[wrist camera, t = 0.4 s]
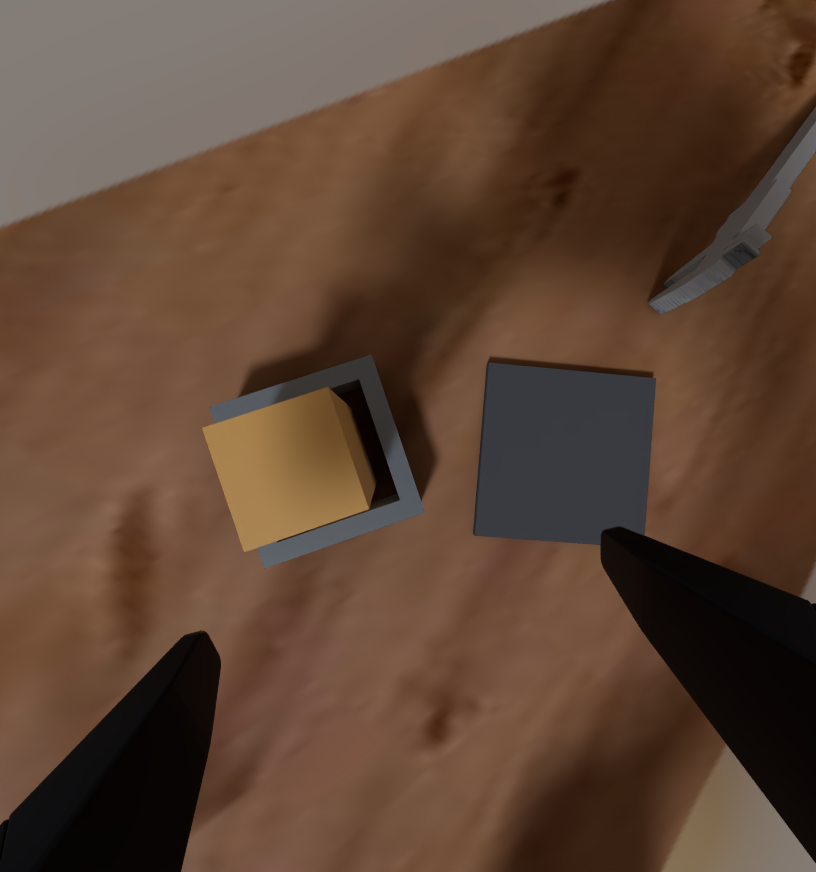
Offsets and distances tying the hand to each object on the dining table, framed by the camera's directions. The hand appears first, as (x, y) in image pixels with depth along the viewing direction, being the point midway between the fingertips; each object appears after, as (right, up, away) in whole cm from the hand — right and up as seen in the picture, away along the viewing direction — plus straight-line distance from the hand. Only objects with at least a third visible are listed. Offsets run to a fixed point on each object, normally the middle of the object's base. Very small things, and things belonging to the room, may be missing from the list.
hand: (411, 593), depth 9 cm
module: (-5, +2, +15) cm, 15 cm away
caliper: (+21, +19, +16) cm, 33 cm away
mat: (+9, +2, +15) cm, 18 cm away
